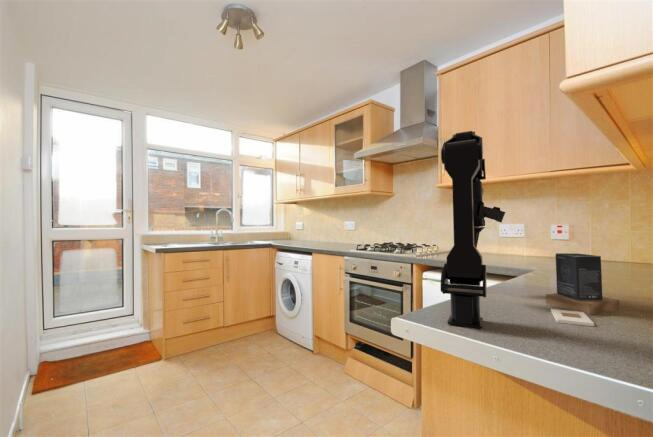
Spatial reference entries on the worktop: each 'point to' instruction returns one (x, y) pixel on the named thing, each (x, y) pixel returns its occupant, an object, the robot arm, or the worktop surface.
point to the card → (571, 317)
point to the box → (579, 276)
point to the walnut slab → (583, 304)
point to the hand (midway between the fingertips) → (473, 251)
